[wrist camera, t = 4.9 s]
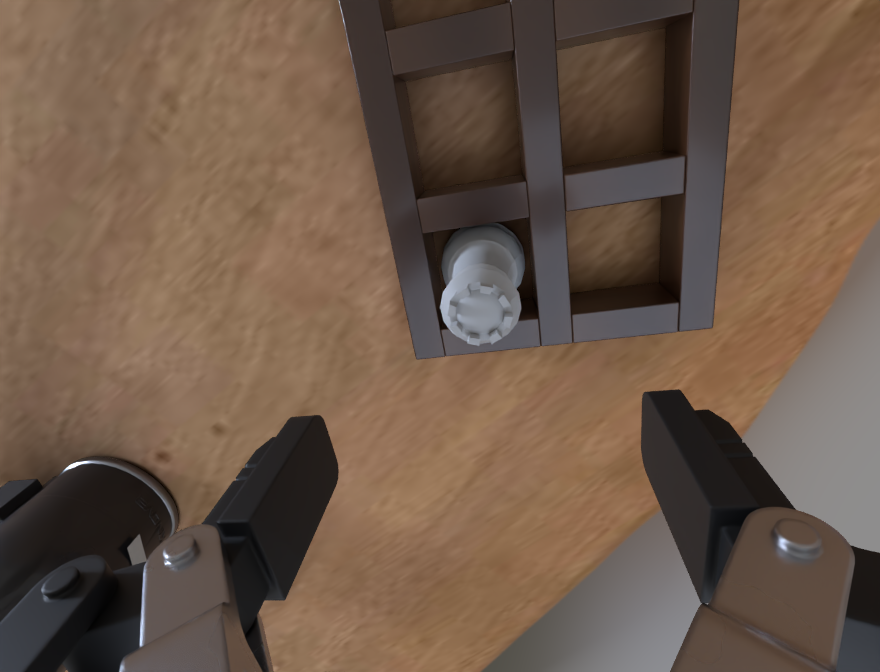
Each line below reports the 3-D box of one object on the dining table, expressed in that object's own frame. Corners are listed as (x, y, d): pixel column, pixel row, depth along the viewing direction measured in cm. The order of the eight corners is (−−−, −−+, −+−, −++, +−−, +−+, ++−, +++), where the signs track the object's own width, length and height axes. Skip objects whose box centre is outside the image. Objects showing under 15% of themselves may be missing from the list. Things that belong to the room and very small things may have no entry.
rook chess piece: (507, 205, 23) (514, 241, 16) (536, 282, 25) (554, 346, 18) (429, 238, 24) (403, 286, 17) (461, 310, 26) (449, 380, 19)
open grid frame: (423, 336, 27) (416, 359, 24) (327, -137, 18) (299, -182, 16) (689, 306, 25) (713, 328, 22) (721, -255, 16) (767, -332, 13)
